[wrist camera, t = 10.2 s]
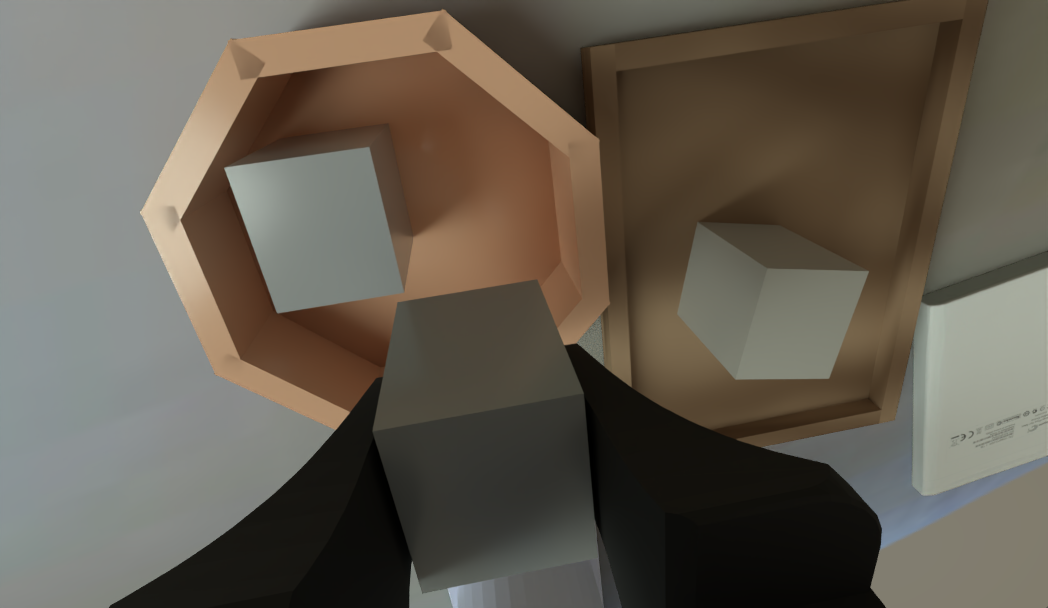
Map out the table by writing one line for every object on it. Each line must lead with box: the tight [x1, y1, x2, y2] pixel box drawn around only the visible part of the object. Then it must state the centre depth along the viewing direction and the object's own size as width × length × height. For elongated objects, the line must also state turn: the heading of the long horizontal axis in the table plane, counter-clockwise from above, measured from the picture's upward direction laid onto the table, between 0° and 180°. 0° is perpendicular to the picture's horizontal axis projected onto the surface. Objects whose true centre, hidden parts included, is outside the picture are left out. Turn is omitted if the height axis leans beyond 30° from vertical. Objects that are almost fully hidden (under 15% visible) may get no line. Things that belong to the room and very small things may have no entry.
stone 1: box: [224, 123, 414, 313], centre depth 16 cm, size 4×4×5 cm
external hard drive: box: [912, 251, 1048, 496], centre depth 27 cm, size 2×8×12 cm
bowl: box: [140, 9, 611, 430], centre depth 18 cm, size 13×13×4 cm
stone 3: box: [677, 222, 869, 380], centre depth 20 cm, size 4×4×5 cm
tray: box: [581, 0, 988, 447], centre depth 22 cm, size 18×14×1 cm
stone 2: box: [372, 279, 598, 593], centre depth 12 cm, size 4×4×5 cm
